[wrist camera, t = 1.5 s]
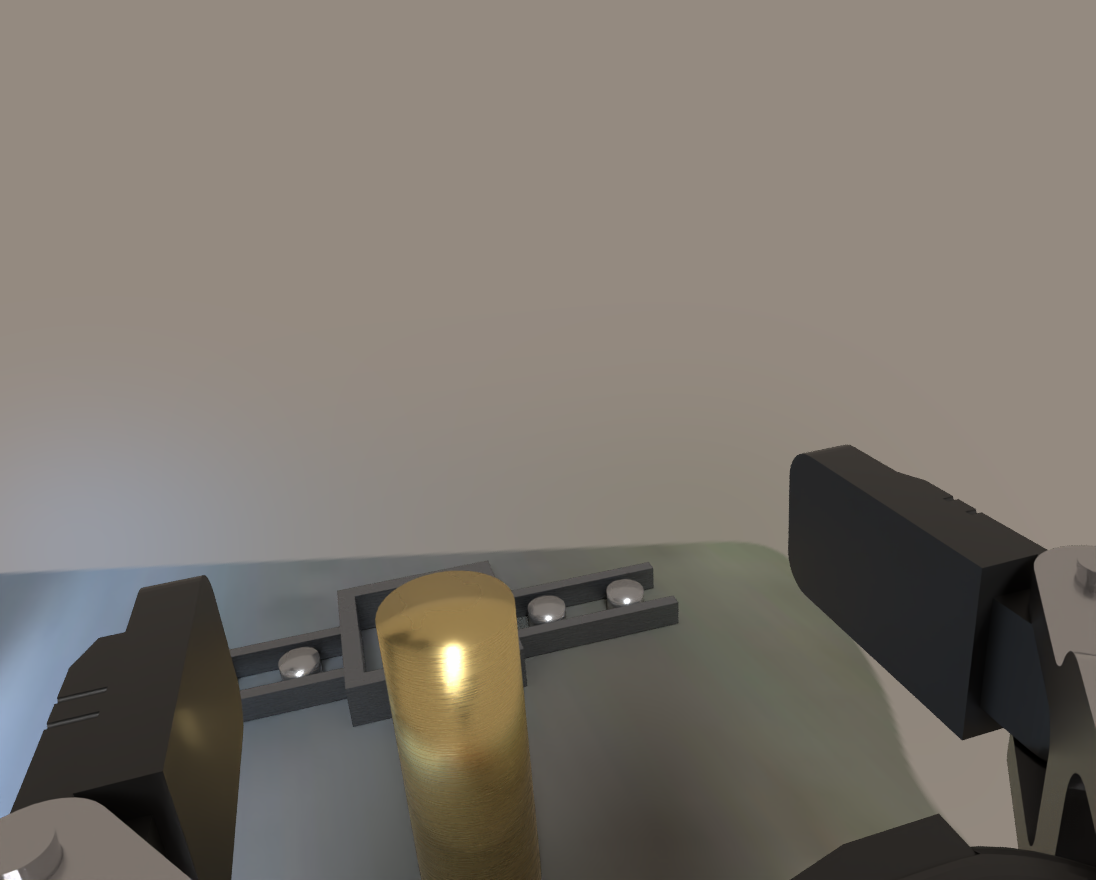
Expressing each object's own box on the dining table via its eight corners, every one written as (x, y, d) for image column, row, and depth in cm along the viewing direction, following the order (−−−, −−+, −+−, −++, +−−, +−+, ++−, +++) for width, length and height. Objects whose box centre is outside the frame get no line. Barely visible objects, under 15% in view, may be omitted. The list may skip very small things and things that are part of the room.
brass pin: (399, 901, 28) (345, 629, 24) (467, 814, 32) (431, 559, 27) (500, 953, 27) (462, 669, 22) (562, 855, 30) (540, 588, 25)
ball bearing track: (151, 773, 34) (138, 735, 34) (175, 659, 41) (164, 625, 40) (694, 646, 40) (694, 610, 39) (636, 563, 46) (635, 531, 45)
